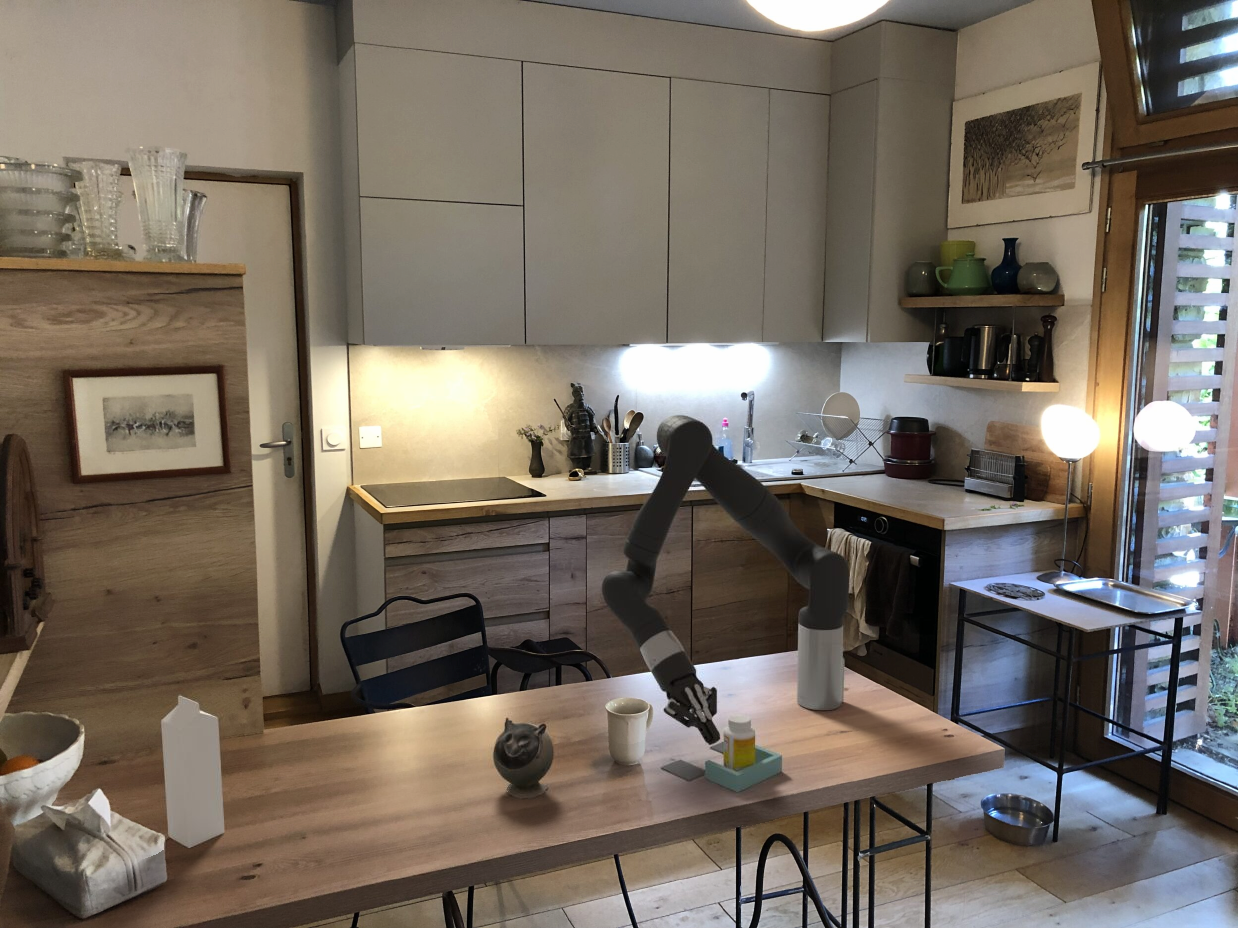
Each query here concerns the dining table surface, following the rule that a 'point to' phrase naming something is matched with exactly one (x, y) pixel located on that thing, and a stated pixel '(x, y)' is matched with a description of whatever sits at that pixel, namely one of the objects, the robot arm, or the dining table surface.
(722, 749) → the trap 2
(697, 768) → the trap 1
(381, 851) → the dining table surface
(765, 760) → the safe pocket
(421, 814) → the dining table surface
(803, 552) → the robot arm
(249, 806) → the dining table surface
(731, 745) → the supplement bottle
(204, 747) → the milk
